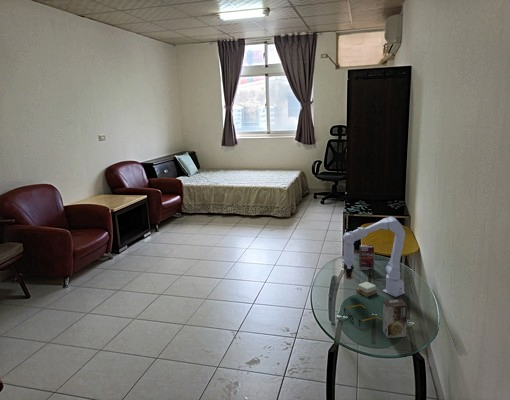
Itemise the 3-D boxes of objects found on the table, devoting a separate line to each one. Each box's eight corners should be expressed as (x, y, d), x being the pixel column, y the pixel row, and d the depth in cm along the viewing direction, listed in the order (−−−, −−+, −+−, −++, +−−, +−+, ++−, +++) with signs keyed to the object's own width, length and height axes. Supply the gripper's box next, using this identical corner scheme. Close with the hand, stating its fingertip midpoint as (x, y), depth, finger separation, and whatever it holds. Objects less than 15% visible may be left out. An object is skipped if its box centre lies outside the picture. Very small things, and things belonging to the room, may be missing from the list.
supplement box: (360, 270, 251) (360, 247, 248) (359, 267, 256) (359, 245, 253) (373, 269, 251) (374, 247, 248) (371, 267, 256) (372, 244, 252)
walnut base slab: (376, 293, 220) (376, 289, 219) (366, 297, 216) (366, 293, 215) (365, 288, 227) (365, 284, 226) (356, 292, 223) (356, 288, 222)
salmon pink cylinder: (354, 278, 220) (354, 271, 219) (348, 280, 218) (348, 273, 217) (348, 275, 224) (348, 269, 223) (343, 277, 222) (343, 271, 221)
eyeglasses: (342, 314, 199) (342, 307, 198) (365, 308, 204) (365, 301, 203) (358, 328, 186) (358, 320, 185) (382, 321, 191) (383, 313, 190)
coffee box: (400, 329, 182) (401, 298, 179) (406, 336, 176) (407, 305, 173) (382, 330, 182) (382, 299, 179) (387, 338, 176) (388, 306, 172)
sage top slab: (375, 289, 219) (375, 285, 219) (366, 292, 216) (367, 288, 216) (366, 285, 225) (366, 281, 225) (358, 288, 222) (358, 284, 222)
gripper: (341, 248, 225) (341, 270, 228) (341, 258, 212) (341, 280, 215) (353, 249, 224) (354, 270, 227) (354, 258, 210) (354, 281, 213)
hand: (348, 275), depth 221 cm, fingers closed on salmon pink cylinder, 4 cm apart
